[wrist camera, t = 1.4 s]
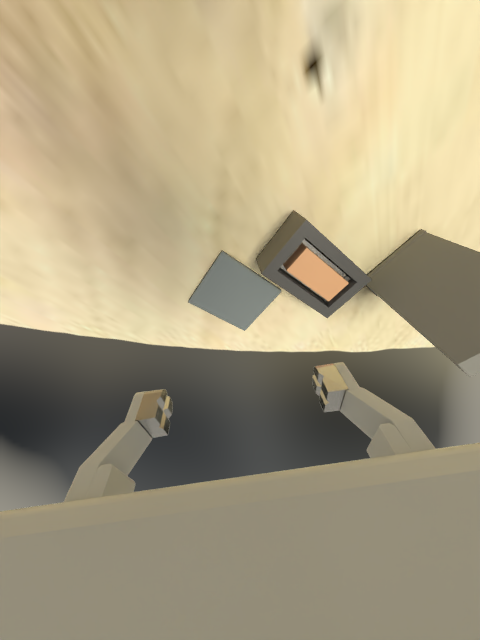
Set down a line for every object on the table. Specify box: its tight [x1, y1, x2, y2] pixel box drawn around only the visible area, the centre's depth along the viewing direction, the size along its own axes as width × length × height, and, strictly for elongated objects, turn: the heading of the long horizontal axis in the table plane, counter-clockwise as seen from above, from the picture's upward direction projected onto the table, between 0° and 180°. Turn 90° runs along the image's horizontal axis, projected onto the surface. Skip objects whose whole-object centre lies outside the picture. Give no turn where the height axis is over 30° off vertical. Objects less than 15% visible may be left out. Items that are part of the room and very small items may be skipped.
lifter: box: [280, 239, 350, 302], centre depth 41 cm, size 13×6×2 cm, turn 54°
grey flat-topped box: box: [366, 229, 480, 377], centre depth 37 cm, size 14×6×25 cm, turn 142°
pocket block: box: [256, 211, 372, 318], centre depth 42 cm, size 19×11×7 cm, turn 54°
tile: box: [283, 243, 349, 301], centre depth 40 cm, size 12×5×2 cm, turn 54°
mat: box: [188, 251, 281, 331], centre depth 48 cm, size 14×16×1 cm
